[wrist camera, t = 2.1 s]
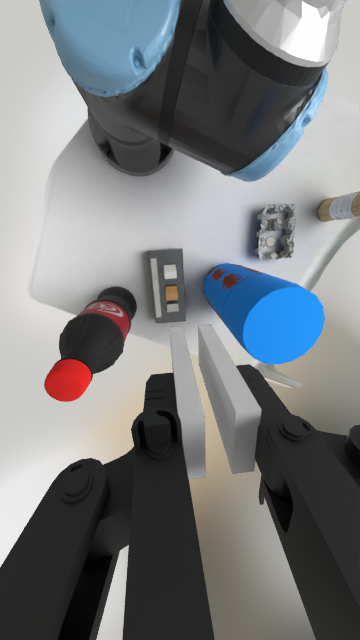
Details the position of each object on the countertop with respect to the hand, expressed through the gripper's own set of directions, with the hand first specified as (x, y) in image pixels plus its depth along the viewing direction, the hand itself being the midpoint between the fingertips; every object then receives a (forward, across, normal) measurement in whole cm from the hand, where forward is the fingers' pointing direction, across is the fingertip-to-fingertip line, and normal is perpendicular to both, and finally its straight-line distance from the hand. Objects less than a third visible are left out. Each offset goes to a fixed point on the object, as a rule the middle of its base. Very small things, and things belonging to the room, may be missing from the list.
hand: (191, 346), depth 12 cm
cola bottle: (+37, -12, -7) cm, 39 cm away
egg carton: (+37, +23, +6) cm, 44 cm away
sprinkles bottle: (+37, +35, +10) cm, 52 cm away
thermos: (+37, +13, -5) cm, 39 cm away
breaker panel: (+36, 0, -4) cm, 37 cm away
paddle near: (+34, 0, 0) cm, 34 cm away
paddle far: (+34, 0, -8) cm, 35 cm away
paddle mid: (+34, 0, -4) cm, 34 cm away
